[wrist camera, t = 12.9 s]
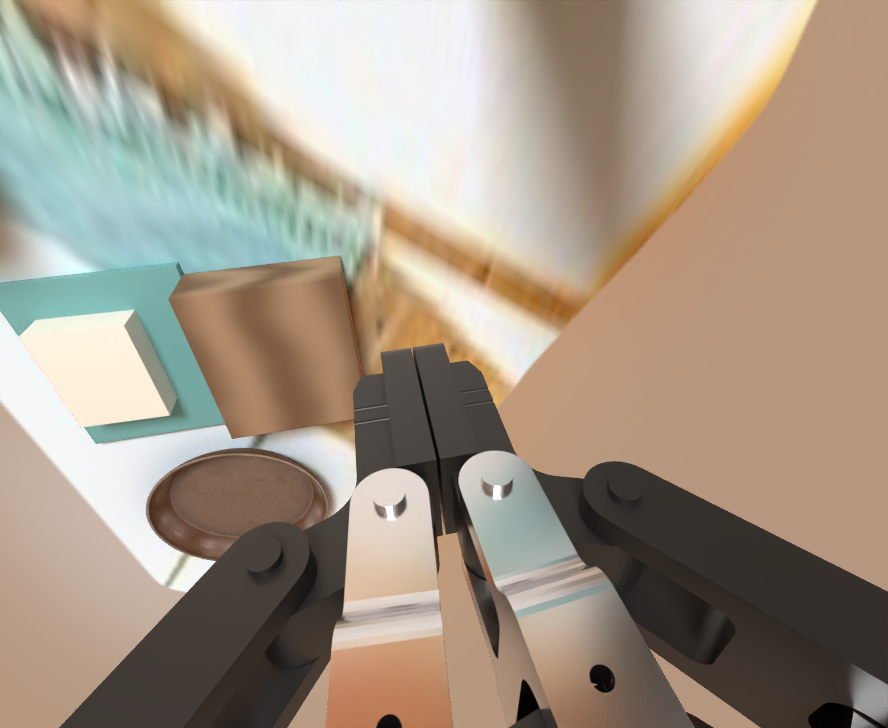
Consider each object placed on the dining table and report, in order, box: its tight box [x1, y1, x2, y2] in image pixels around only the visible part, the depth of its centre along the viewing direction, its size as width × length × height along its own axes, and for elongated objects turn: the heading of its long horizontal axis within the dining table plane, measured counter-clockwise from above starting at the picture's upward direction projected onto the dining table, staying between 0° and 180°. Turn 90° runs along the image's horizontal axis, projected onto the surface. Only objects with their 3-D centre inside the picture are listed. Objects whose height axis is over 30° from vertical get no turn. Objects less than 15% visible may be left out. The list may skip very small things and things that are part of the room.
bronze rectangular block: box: [168, 256, 363, 439], centre depth 39 cm, size 12×14×4 cm
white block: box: [19, 310, 177, 428], centre depth 37 cm, size 7×9×2 cm
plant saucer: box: [146, 448, 328, 561], centre depth 50 cm, size 18×18×3 cm
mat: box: [0, 262, 225, 444], centre depth 39 cm, size 13×16×1 cm
